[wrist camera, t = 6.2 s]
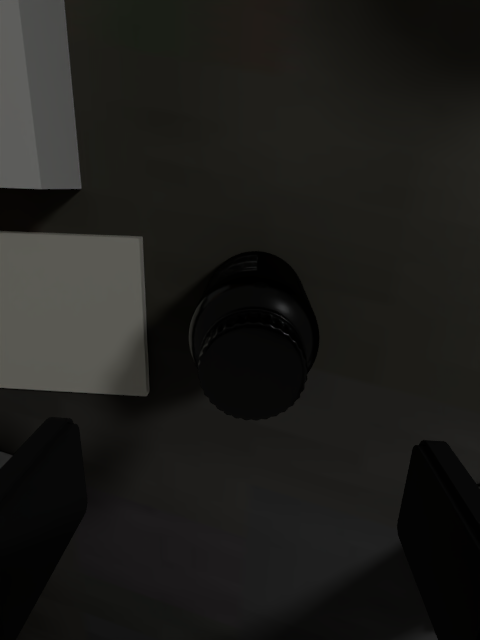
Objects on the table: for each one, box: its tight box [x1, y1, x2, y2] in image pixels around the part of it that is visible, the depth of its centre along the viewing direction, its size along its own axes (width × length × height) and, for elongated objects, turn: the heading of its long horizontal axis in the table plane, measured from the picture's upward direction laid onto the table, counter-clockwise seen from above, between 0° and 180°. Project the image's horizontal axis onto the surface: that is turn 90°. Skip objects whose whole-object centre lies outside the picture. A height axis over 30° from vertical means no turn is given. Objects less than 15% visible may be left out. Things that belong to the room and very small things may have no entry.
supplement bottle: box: [189, 251, 319, 420], centre depth 22 cm, size 7×7×12 cm
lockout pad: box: [0, 231, 150, 396], centre depth 29 cm, size 12×12×1 cm
